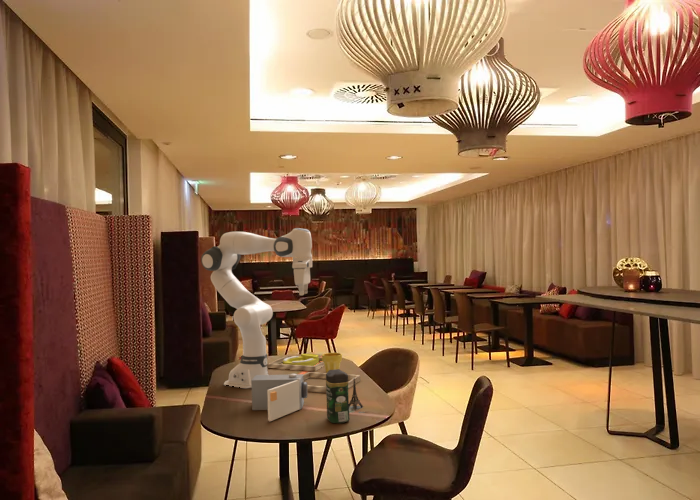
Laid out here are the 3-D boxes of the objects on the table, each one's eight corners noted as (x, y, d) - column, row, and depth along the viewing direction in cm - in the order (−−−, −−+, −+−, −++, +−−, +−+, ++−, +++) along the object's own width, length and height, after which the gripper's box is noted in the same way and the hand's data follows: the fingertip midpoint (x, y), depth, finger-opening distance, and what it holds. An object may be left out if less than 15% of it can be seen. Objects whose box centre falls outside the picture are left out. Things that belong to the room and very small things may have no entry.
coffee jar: (324, 417, 203) (323, 368, 203) (344, 415, 205) (343, 367, 205) (330, 425, 194) (329, 374, 194) (351, 422, 196) (350, 372, 196)
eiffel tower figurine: (339, 404, 222) (339, 372, 222) (364, 403, 223) (363, 371, 223) (342, 415, 207) (342, 380, 208) (368, 413, 208) (367, 379, 208)
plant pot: (327, 370, 286) (326, 352, 286) (345, 371, 282) (344, 352, 282) (319, 374, 276) (318, 355, 276) (337, 375, 273) (337, 356, 273)
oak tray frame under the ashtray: (266, 368, 294) (266, 363, 294) (287, 359, 317) (287, 355, 317) (314, 371, 284) (314, 366, 284) (332, 362, 307) (332, 357, 307)
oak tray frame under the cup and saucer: (284, 389, 247) (284, 384, 247) (308, 377, 271) (308, 372, 271) (340, 393, 237) (340, 388, 237) (360, 380, 261) (360, 375, 261)
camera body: (252, 410, 215) (251, 377, 215) (256, 403, 224) (255, 372, 224) (306, 408, 215) (305, 376, 215) (308, 402, 224) (307, 371, 224)
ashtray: (323, 364, 303) (323, 355, 303) (297, 371, 287) (296, 361, 287) (303, 361, 314) (303, 352, 314) (276, 367, 298) (276, 358, 298)
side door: (272, 422, 198) (271, 389, 198) (267, 421, 199) (267, 388, 199) (303, 409, 214) (302, 378, 214) (299, 408, 215) (298, 378, 215)
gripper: (299, 263, 252) (300, 293, 251) (291, 264, 231) (292, 296, 231) (313, 263, 251) (313, 292, 251) (305, 264, 231) (306, 296, 231)
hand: (303, 294), depth 241 cm, fingers open, 8 cm apart
